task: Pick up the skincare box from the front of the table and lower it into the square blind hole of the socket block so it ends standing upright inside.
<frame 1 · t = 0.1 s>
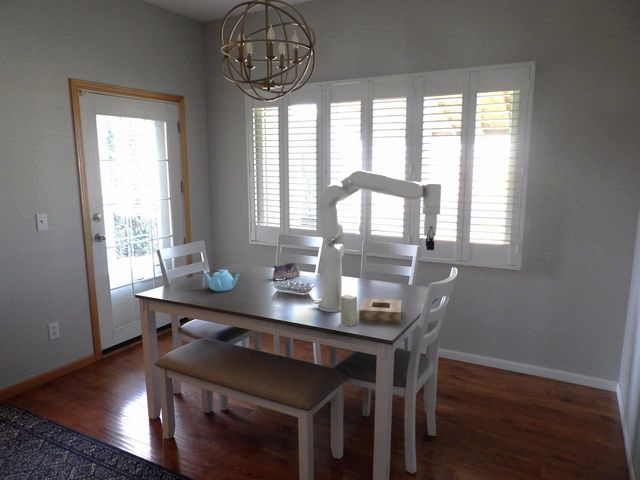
hand: (429, 248, 207), 31 cm above the table, fingers open, 9 cm apart
teapot: (221, 289, 255), on the table
skincare box: (348, 324, 199), on the table
socket block: (380, 315, 210), on the table
geode: (286, 278, 282), on the table
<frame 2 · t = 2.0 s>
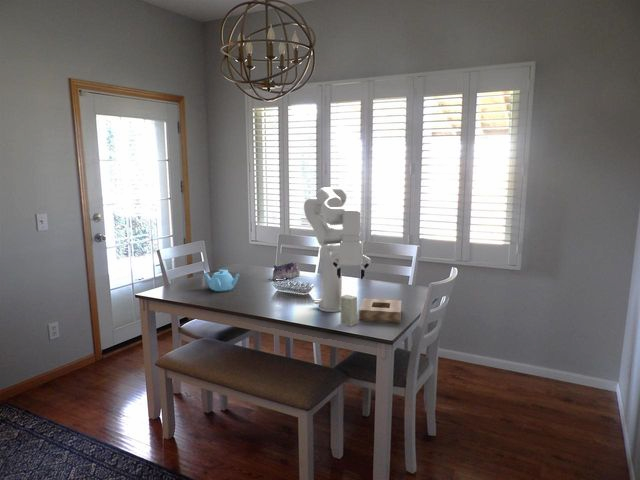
hand: (350, 277, 196), 20 cm above the table, fingers open, 9 cm apart
nothing on the table moved.
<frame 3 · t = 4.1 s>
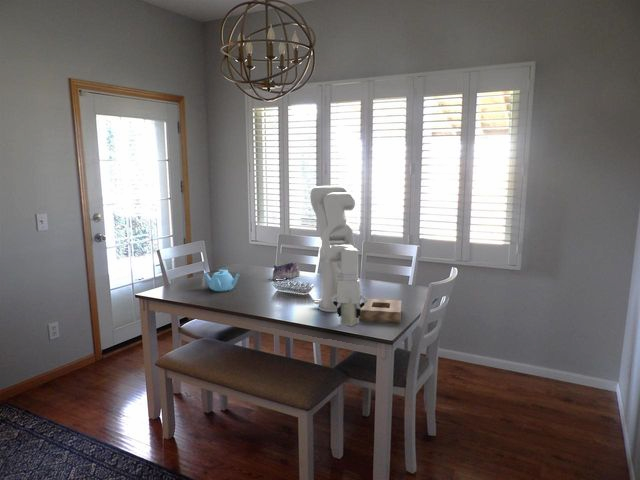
hand: (348, 316, 198), 3 cm above the table, fingers closed on skincare box, 7 cm apart
skincare box: (348, 324, 199), on the table, touching gripper
everything else where it was.
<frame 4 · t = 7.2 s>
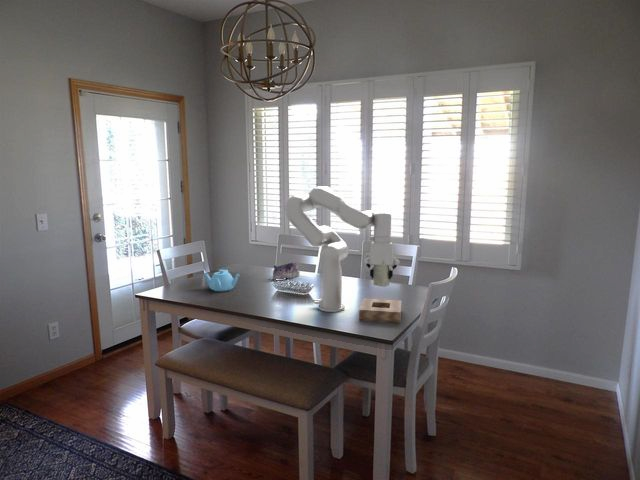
hand: (381, 277, 207), 18 cm above the table, fingers closed on skincare box, 7 cm apart
skincare box: (381, 285, 207), point 14 cm above the table, touching gripper
everything else where it was.
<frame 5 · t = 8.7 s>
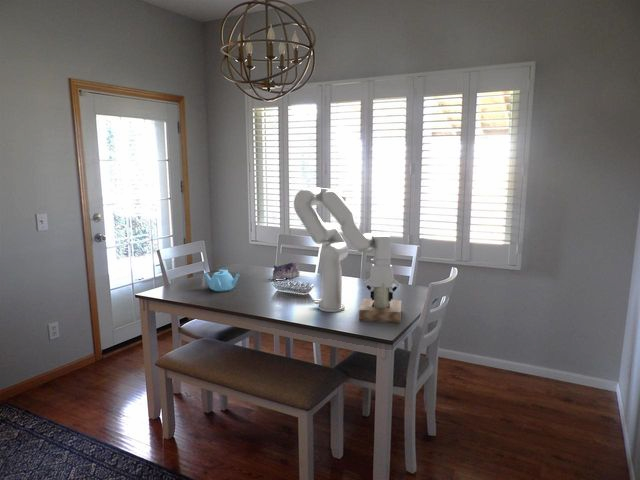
hand: (381, 299, 209), 7 cm above the table, fingers closed on skincare box, 7 cm apart
skincare box: (381, 307, 209), point 4 cm above the table, touching gripper
everything else where it was.
when the fingers open (6 cm above the table, at t = 10.2 s): skincare box drops 2 cm, resting on socket block.
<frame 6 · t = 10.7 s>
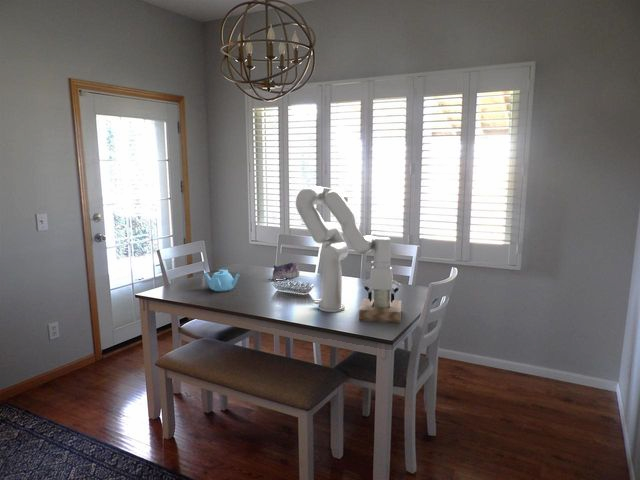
hand: (381, 301, 209), 7 cm above the table, fingers open, 9 cm apart
skincare box: (381, 313, 210), point 1 cm above the table, touching socket block
everything else where it was.
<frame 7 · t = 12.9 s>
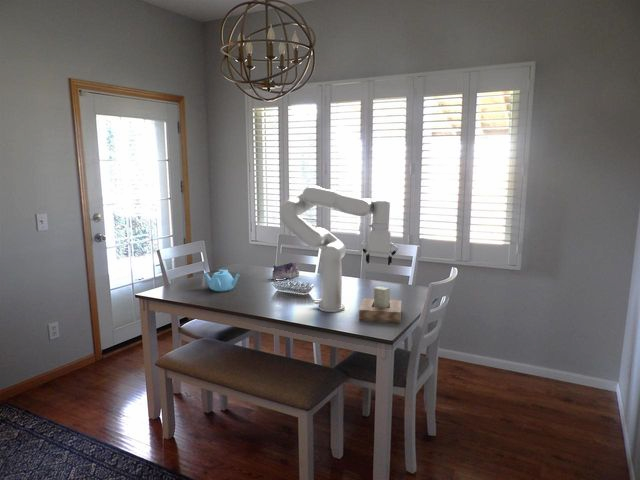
hand: (378, 263, 210), 23 cm above the table, fingers open, 9 cm apart
nothing on the table moved.
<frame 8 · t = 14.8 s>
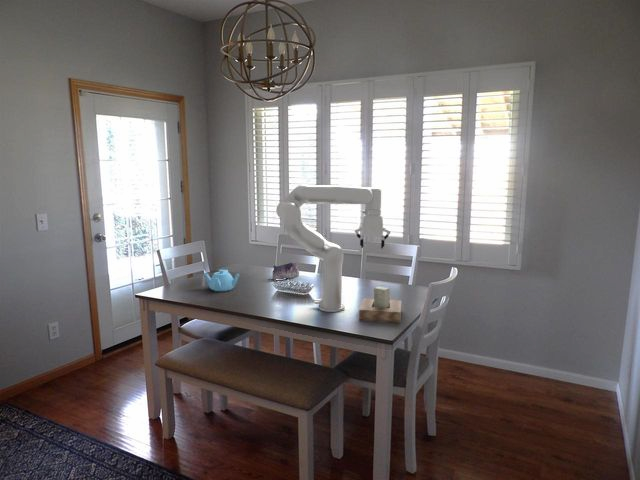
hand: (372, 247, 224), 28 cm above the table, fingers open, 9 cm apart
nothing on the table moved.
at the end: skincare box 0.2 cm off-centre on the socket block, point 0.8 cm above the socket block's base; skincare box tilted 0°; the gripper is holding nothing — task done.
